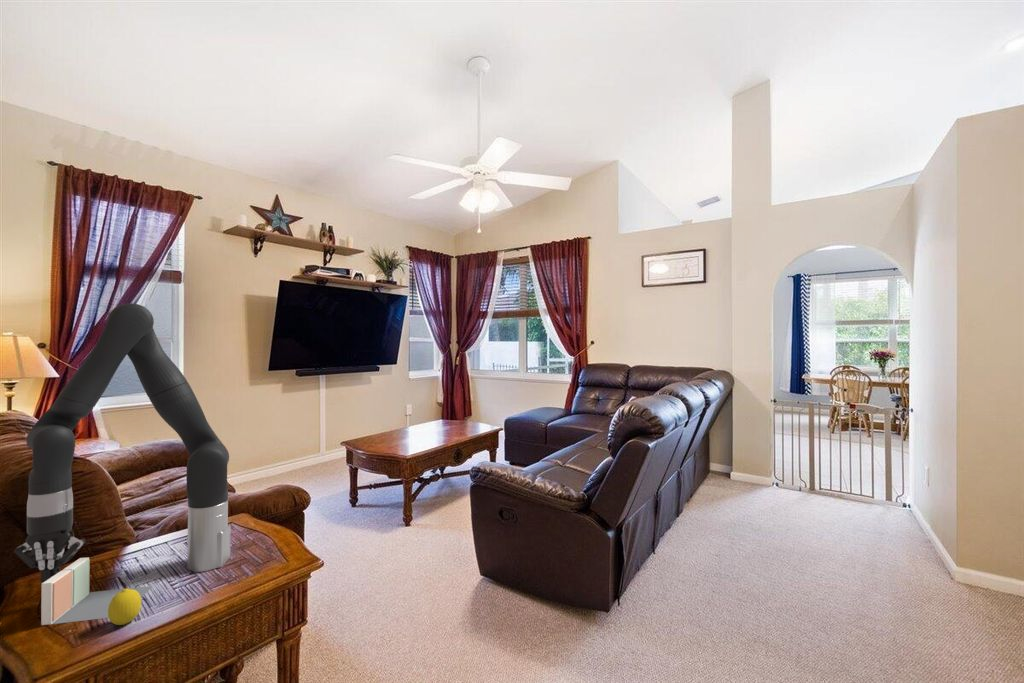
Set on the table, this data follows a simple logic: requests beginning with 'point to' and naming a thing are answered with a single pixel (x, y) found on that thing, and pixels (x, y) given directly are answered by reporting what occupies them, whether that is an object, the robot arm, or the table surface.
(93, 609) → the slate mat
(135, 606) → the lemon
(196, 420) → the robot arm
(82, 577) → the white flat block
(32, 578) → the table surface
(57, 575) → the pink flat piece
